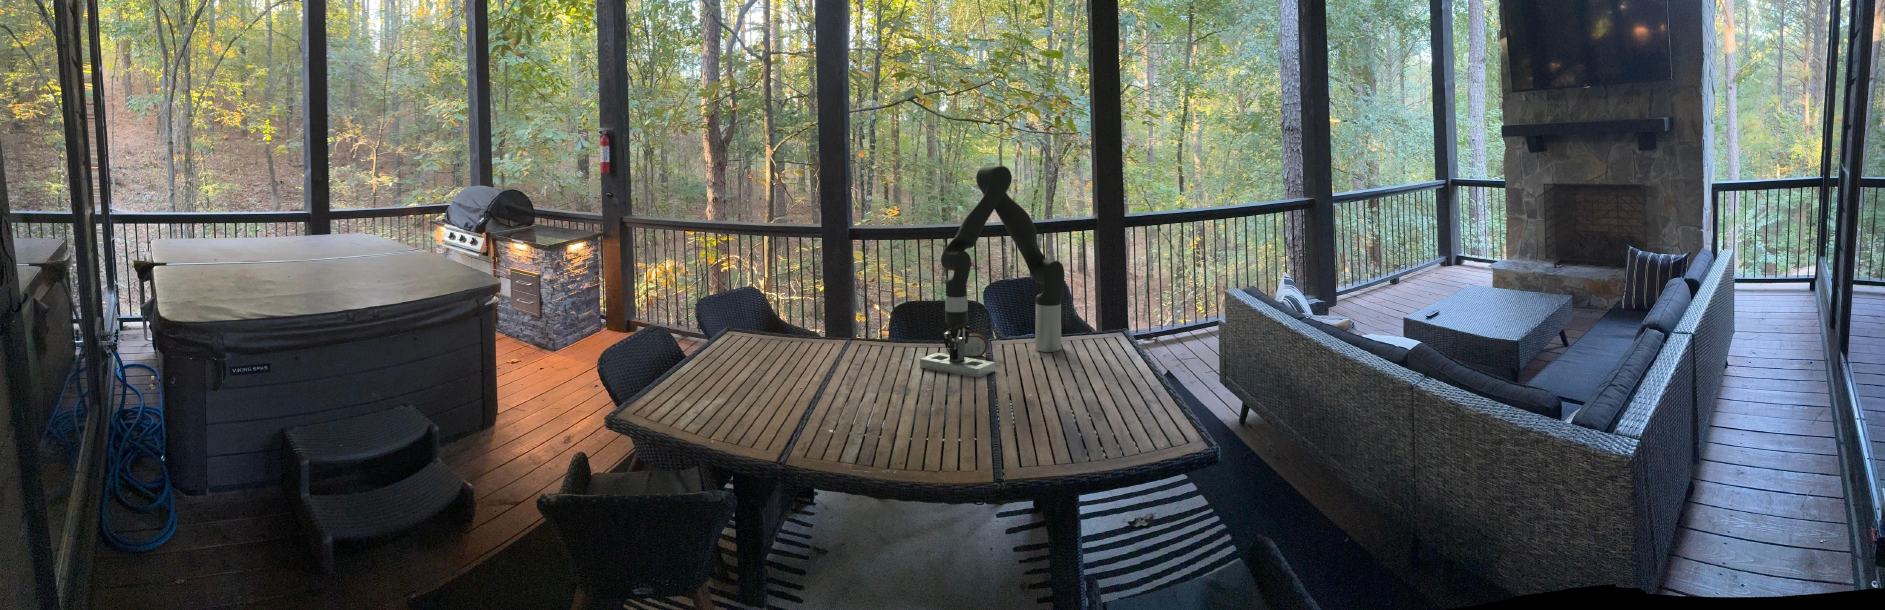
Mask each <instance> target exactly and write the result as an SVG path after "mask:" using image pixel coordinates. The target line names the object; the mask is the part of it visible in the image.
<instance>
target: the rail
mask: <svg viewBox="0 0 1885 610" xmlns="http://www.w3.org/2000/svg"><path fill="white" fill-rule="evenodd" d="M995 365H996V363H995V361H990V360H989V361H988V360H984V359H976V358H973V357H964V361H963V362H960V363H955V362H950V354H949V353H940V352H935V353H932V354H930V355H926V356H924V357H920V358H919V367H920V368H922V369H926V370H927V369H929V370H931V371H932V370H933V371H937V372H944V373H950V374H955V375H961V376H966V377H971V378H976V379H977V378H978V379H979V378H982V377H984V376H986V375H989V374H991V373H993V372H995V369H996V366H995Z"/></svg>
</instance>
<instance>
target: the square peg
mask: <svg viewBox="0 0 1885 610" xmlns="http://www.w3.org/2000/svg"><path fill="white" fill-rule="evenodd" d="M952 340H955V339H952ZM952 343H953V346H954V342H952ZM956 349H957V359H956V360H951V359H950V362H955V363H960V362H963V361H964V339H960V338H959V341H958V342H957V348H956ZM949 353H950V349H949ZM949 353H948V354H949Z"/></svg>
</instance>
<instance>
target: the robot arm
mask: <svg viewBox="0 0 1885 610" xmlns="http://www.w3.org/2000/svg"><path fill="white" fill-rule="evenodd" d="M1012 178H1013V177H1012V173H1011V171H1010V169H1009V168H1008V167H1007V166H1004V165H985V166H982V167H980V168H979V169H978V170H977V173H976V178H975V179H976V184H977V186H978V188H979V190H980V191H981V193H982V194H983V197H982V198H981V199H980V200H979V202H978V203H977V204H976V205H975V206H974V207H973V208H972V209H971V210H970V211H969V212H968V214H966V216H965V218H963V221H962V223H961V225H960V227H959V229H958V231H957V233H956V235H954V236H955V237H954V238H952V239H951V241H950V242H949V244H947V246H946V247H945V248H944V250H943V252H942V253H941V254H942V255H940V256H941V257H940V262H941V263H940V264H941V266H942V268H943V269H945V270H948V271H953V276H952V277H949V278H947V279H946V281H945V302H944V303H945V304H944V305H945V306H944V308H945V309H944V311H945V312H944V313H945V315H944V316H945V320H944V321H945V323H946V324H947V325H948V326H947V331H946V332H942V338H943V343H944V345H945V346H944V348H945V349H946V348H949V349H950V354H949V355H950V359H951V360H956V359H957V349H956V348H957V342H958V341H959V338H960V339H964V346H965V344H967V343H968V339H969V334H970V333H971V326H970V325H969V326H968V325H967V323H968V320H969V316H968V315H969V313H968V311H969V307H968V305H969V301H968V290H967V289H968V288H967V287H968V285H967V284H968V280H969V276H970V272H971V268H972V259H971V256H970V254H969V252H967V251H966V250H968V249H971V248H973V247H974V246H975V245H976V243H977V242H978V239H979V237H980V235H981V233H982V232H983V229H984V227H985V225H986V223H987V221H988V219H990V217H991V215H992V214H993V212H994V211H995V212H996V214H997V216H998V217H999V219H1000V220H1001V222H1002V224H1003V225H1004V227H1005V230H1006V231H1007V233H1008V234H1009V236H1010V238H1011V239H1012V240H1013V242H1014V244H1015V246H1016V247H1017V250H1018V251H1019V253H1020V254H1021V256H1022V258H1023V260H1024V263H1025V264H1026V267H1027V269H1028V272H1029V273H1030V275H1031V277H1032V279H1033V280H1034V281H1035V282H1036V283H1038V284H1041V285H1043V289H1042V292H1041V293H1039V294H1037V295H1036V296H1035V334H1034V335H1035V338H1034V339H1035V340H1034V341H1035V342H1034V343H1035V346H1034V347H1035V348H1034V349H1035V350H1036V351H1037V352H1042V353H1043V352H1045V353H1056V352H1059V351H1061V348H1062V299H1063V296H1064V289H1065V274H1066V273H1065V268H1064V265H1063V263H1061V262H1060V261H1058V260H1054V259H1053V260H1052V259H1049V258H1047V257H1046V256H1045V255H1044V254H1043V252H1042V251H1041V249H1040V248H1039V247H1040V246H1039V245H1038V232H1037V228H1036V225H1035V224H1034V221H1033V220H1032V218H1031V217H1030V215H1029V214H1028V212H1027V211H1026V210H1025V209H1024V208H1023V207H1022V206H1021V205H1019V204H1018V203H1017V202H1016V201H1015V200H1013V198H1011V197H1010V196H1009V195H1008V193H1007V192H1008V190H1009V188H1010V186H1011V184H1012V181H1013V180H1012ZM965 336H966V338H965ZM952 339H955V340H952ZM952 342H954V346H953V343H952ZM948 343H949V345H948Z"/></svg>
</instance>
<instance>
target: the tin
mask: <svg viewBox="0 0 1885 610" xmlns="http://www.w3.org/2000/svg"><path fill="white" fill-rule="evenodd" d="M965 338H966V336H965ZM948 345H949V343H948ZM988 347H989V342H988V339H987V337H985V336H984V335H983V334H980V333H975V332H974V333H972V332H970V334H969V339H968V343H967V344H965V346H964V357H966V358H979V357H982V356H983V355H985V353H986V352H987V350H988ZM945 349H946V352H947V354H948V355H950V353H949V348H946V347H945Z"/></svg>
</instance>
